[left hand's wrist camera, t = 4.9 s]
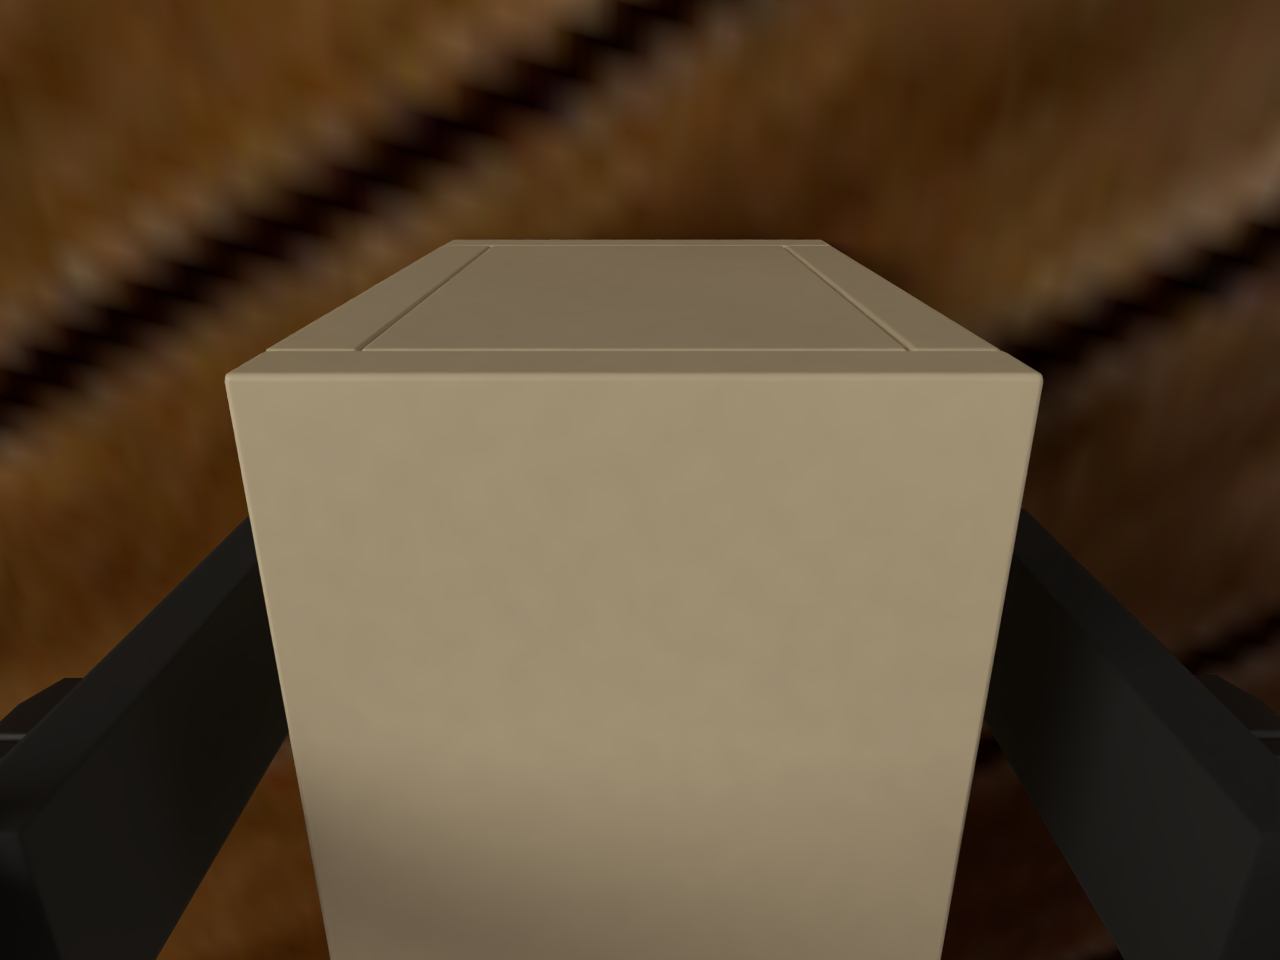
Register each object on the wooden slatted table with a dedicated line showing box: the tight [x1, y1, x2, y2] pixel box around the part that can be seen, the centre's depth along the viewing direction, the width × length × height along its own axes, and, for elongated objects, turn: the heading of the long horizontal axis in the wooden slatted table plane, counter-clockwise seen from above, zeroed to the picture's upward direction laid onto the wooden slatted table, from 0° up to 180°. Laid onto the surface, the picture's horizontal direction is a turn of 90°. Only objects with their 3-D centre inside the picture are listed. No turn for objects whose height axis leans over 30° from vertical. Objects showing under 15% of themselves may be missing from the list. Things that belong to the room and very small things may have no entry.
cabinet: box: [225, 240, 1043, 960], centre depth 15 cm, size 22×7×9 cm, turn 0°
